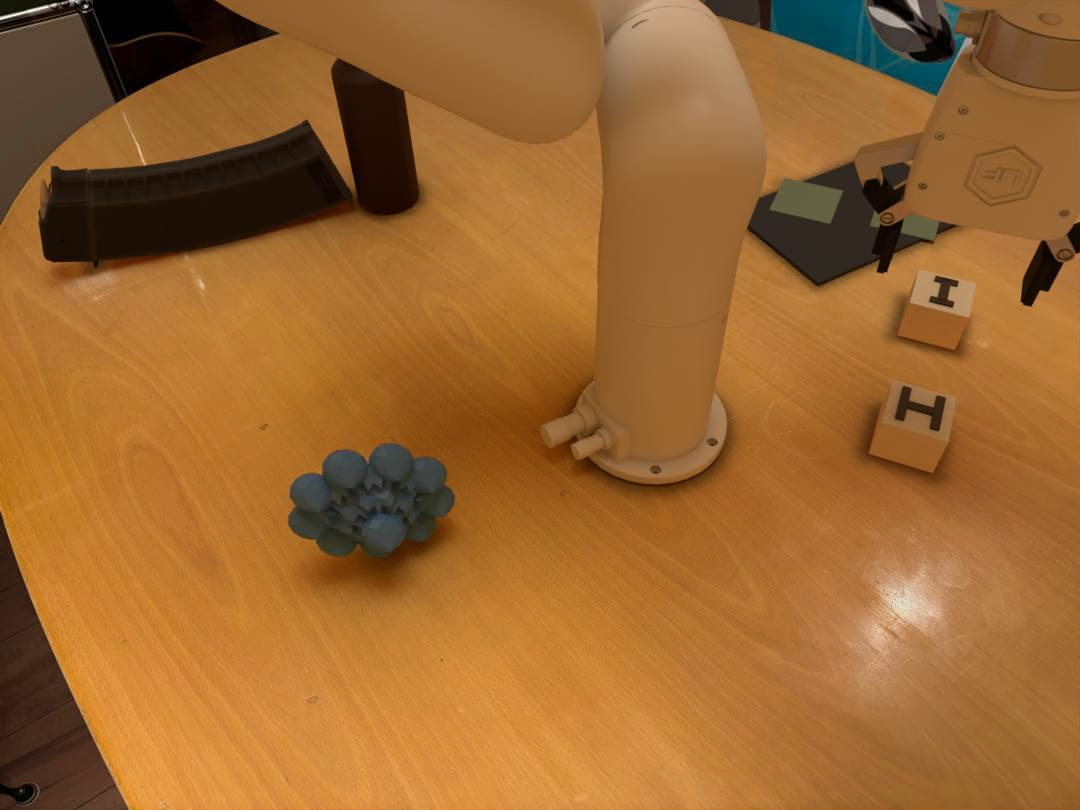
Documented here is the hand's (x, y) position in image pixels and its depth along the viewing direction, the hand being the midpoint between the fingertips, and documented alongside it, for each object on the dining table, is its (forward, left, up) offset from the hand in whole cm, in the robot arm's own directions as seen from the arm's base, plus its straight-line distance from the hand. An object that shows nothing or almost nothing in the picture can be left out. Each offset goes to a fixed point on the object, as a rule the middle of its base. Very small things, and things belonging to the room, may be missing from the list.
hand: (953, 277), depth 62 cm
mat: (+17, +23, -15) cm, 32 cm away
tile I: (+11, +7, -15) cm, 19 cm away
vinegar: (-24, +52, -15) cm, 59 cm away
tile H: (-1, -2, -15) cm, 15 cm away
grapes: (-42, +9, -15) cm, 46 cm away
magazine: (-43, +55, -15) cm, 71 cm away
